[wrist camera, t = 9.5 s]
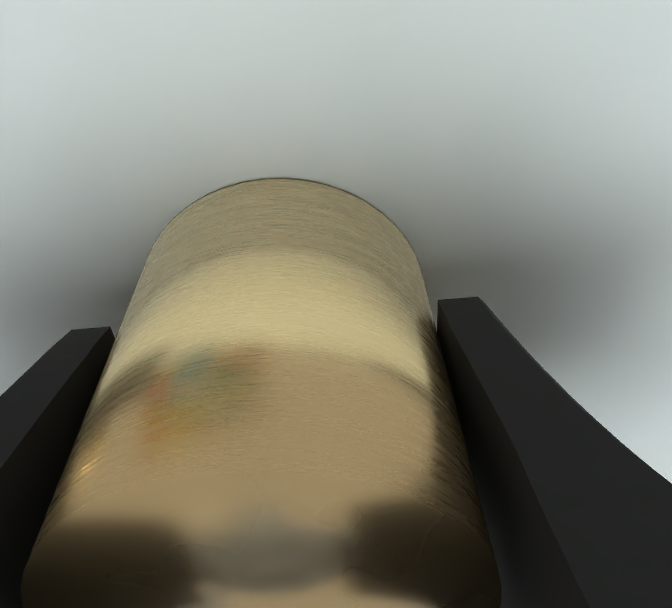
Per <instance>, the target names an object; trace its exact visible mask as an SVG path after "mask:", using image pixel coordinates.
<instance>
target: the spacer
mask: <svg viewBox="0 0 672 608" xmlns="http://www.w3.org/2000/svg"><path fill="white" fill-rule="evenodd" d="M501 597H502V585H501V580H500V576H499V572H498V568H497V564H496V560H495V556H494V552H493V548H492V544H491V540H490V537H489V533H488V529H487V525H486V521H485V517H484V513H483V509H482V506H481V502H480V498H479V494H478V490H477V486H476V482H475V478H474V474H473V471H472V467H471V463H470V459H469V455H468V451H467V447H466V443H465V440H464V436H463V432H462V428H461V424H460V420H459V416H458V412H457V408H456V405H455V401H454V397H453V393H452V389H451V385H450V381H449V377H448V374H447V370H446V366H445V362H444V358H443V354H442V350H441V346H440V342H439V339H438V335H437V331H436V327H435V323H434V319H433V315H432V311H431V308H430V304H429V300H428V296H427V292H426V288H425V284H424V280H423V276H422V273H421V269H420V265H419V263H418V261H417V258H416V256H415V253H414V251H413V249H412V248H411V246H410V245H409V243H408V241H407V240H406V238H405V237H404V236H403V234H402V233H401V232H400V231H399V230H398V228H397V227H396V226H395V225H394V224H393V223H392V222H391V221H390V220H389V219H388V218H386V217H385V216H384V215H383V214H382V213H381V212H380V211H378V210H377V209H375V208H374V207H372V206H371V205H369V204H368V203H366V202H365V201H363V200H361V199H359V198H357V197H355V196H353V195H351V194H349V193H347V192H344V191H341V190H339V189H336V188H333V187H330V186H327V185H323V184H318V183H313V182H309V181H301V180H290V179H268V180H258V181H252V182H245V183H241V184H237V185H233V186H230V187H226V188H223V189H221V190H218V191H216V192H214V193H211V194H209V195H207V196H205V197H203V198H201V199H200V200H198V201H196V202H195V203H193V204H191V205H189V206H188V207H187V208H186V209H184V210H183V211H182V212H181V213H179V214H178V215H177V216H176V217H175V218H174V219H173V220H172V221H171V222H170V223H169V224H168V225H167V226H166V227H165V229H164V230H163V231H162V232H161V234H160V235H159V237H158V238H157V240H156V241H155V243H154V245H153V247H152V249H151V251H150V254H149V256H148V258H147V261H146V263H145V266H144V268H143V271H142V273H141V276H140V278H139V281H138V283H137V286H136V288H135V291H134V293H133V296H132V298H131V301H130V304H129V306H128V309H127V311H126V314H125V316H124V319H123V321H122V324H121V326H120V329H119V331H118V334H117V336H116V339H115V341H114V344H113V347H112V349H111V352H110V354H109V357H108V359H107V362H106V364H105V367H104V369H103V372H102V374H101V377H100V379H99V382H98V384H97V387H96V390H95V392H94V395H93V397H92V400H91V402H90V405H89V407H88V410H87V412H86V415H85V417H84V420H83V422H82V425H81V428H80V430H79V433H78V435H77V438H76V440H75V443H74V445H73V448H72V450H71V453H70V455H69V458H68V460H67V463H66V465H65V468H64V471H63V473H62V476H61V478H60V481H59V483H58V486H57V488H56V491H55V493H54V496H53V498H52V501H51V503H50V506H49V508H48V511H47V514H46V516H45V519H44V521H43V524H42V526H41V529H40V531H39V534H38V536H37V539H36V541H35V544H34V546H33V549H32V551H31V554H30V557H29V559H28V562H27V564H26V567H25V569H24V572H23V577H22V583H21V599H22V606H23V608H500V605H501Z"/></svg>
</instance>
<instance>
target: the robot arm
mask: <svg viewBox="0 0 672 608" xmlns="http://www.w3.org/2000/svg"><path fill="white" fill-rule="evenodd" d="M437 335H438V339H439V342H440V346H441V350H442V354H443V358H444V362H445V366H446V370H447V374H448V377H449V381H450V385H451V389H452V393H453V397H454V401H455V405H456V408H457V412H458V416H459V420H460V424H461V428H462V432H463V436H464V440H465V443H466V447H467V451H468V455H469V459H470V463H471V467H472V471H473V474H474V478H475V482H476V486H477V490H478V494H479V498H480V502H481V506H482V509H483V513H484V517H485V521H486V525H487V529H488V533H489V537H490V540H491V544H492V548H493V552H494V556H495V560H496V564H497V568H498V572H499V576H500V580H501V585H502V597H501V605H500V608H672V484H671V483H670V482H669V481H668V480H666V479H665V478H664V477H662V476H661V475H660V474H659V473H657V472H656V471H655V470H654V469H652V468H651V467H650V466H649V465H647V464H646V463H645V462H644V461H643V460H641V459H640V458H639V457H638V456H637V455H635V454H634V453H633V452H632V451H631V450H629V449H628V448H627V447H626V446H625V445H624V444H622V443H621V442H620V441H619V440H618V439H617V438H616V437H614V436H613V435H612V434H611V433H610V432H609V431H608V430H607V429H606V428H604V427H603V426H602V425H601V424H600V423H599V422H598V421H597V420H596V419H595V418H593V417H592V416H591V415H590V414H589V413H588V412H587V411H586V410H585V409H584V408H583V407H582V406H581V405H580V404H578V403H577V402H576V401H575V400H574V399H573V398H572V397H571V396H570V395H569V394H568V393H567V392H566V391H565V390H564V389H563V388H562V387H561V386H560V385H559V384H558V383H557V382H556V381H555V380H554V379H553V378H552V377H551V376H550V375H549V374H548V373H547V372H546V371H545V370H544V369H543V368H542V367H541V366H540V365H539V364H538V362H537V361H536V360H535V359H534V358H533V357H532V356H531V355H530V354H529V353H528V352H527V351H526V350H525V348H524V347H523V346H522V345H521V344H520V343H519V342H518V341H517V340H516V339H515V338H514V336H513V335H512V334H511V333H510V332H509V331H508V330H507V328H506V327H505V326H504V325H503V324H502V323H501V322H500V320H499V319H498V318H497V317H496V316H495V315H494V313H493V312H492V311H491V310H490V309H489V308H488V306H487V305H486V304H485V303H484V302H483V301H482V300H481V299H480V298H479V297H470V298H457V299H445V300H438V315H437ZM114 341H115V338H114V335H113V333H112V330H111V327H101V328H89V329H77V330H71V331H70V332H69V333H68V334H66V335H65V336H64V337H63V338H62V339H61V340H59V341H58V342H57V343H56V344H55V345H54V346H53V347H52V348H51V349H50V350H49V351H47V352H46V353H45V354H44V355H43V356H42V357H41V358H40V359H39V360H38V361H37V362H36V363H35V364H34V365H33V366H32V367H31V368H30V369H29V370H27V371H26V372H25V373H24V374H23V375H22V376H21V377H20V378H19V379H18V380H17V381H16V382H15V383H14V384H13V385H12V386H11V387H10V388H9V389H8V390H6V391H5V392H4V393H3V394H2V395H1V396H0V608H23V606H22V599H21V583H22V577H23V572H24V569H25V567H26V564H27V562H28V559H29V557H30V554H31V551H32V549H33V546H34V544H35V541H36V539H37V536H38V534H39V531H40V529H41V526H42V524H43V521H44V519H45V516H46V514H47V511H48V508H49V506H50V503H51V501H52V498H53V496H54V493H55V491H56V488H57V486H58V483H59V481H60V478H61V476H62V473H63V471H64V468H65V465H66V463H67V460H68V458H69V455H70V453H71V450H72V448H73V445H74V443H75V440H76V438H77V435H78V433H79V430H80V428H81V425H82V422H83V420H84V417H85V415H86V412H87V410H88V407H89V405H90V402H91V400H92V397H93V395H94V392H95V390H96V387H97V384H98V382H99V379H100V377H101V374H102V372H103V369H104V367H105V364H106V362H107V359H108V357H109V354H110V352H111V349H112V347H113V344H114Z"/></svg>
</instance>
